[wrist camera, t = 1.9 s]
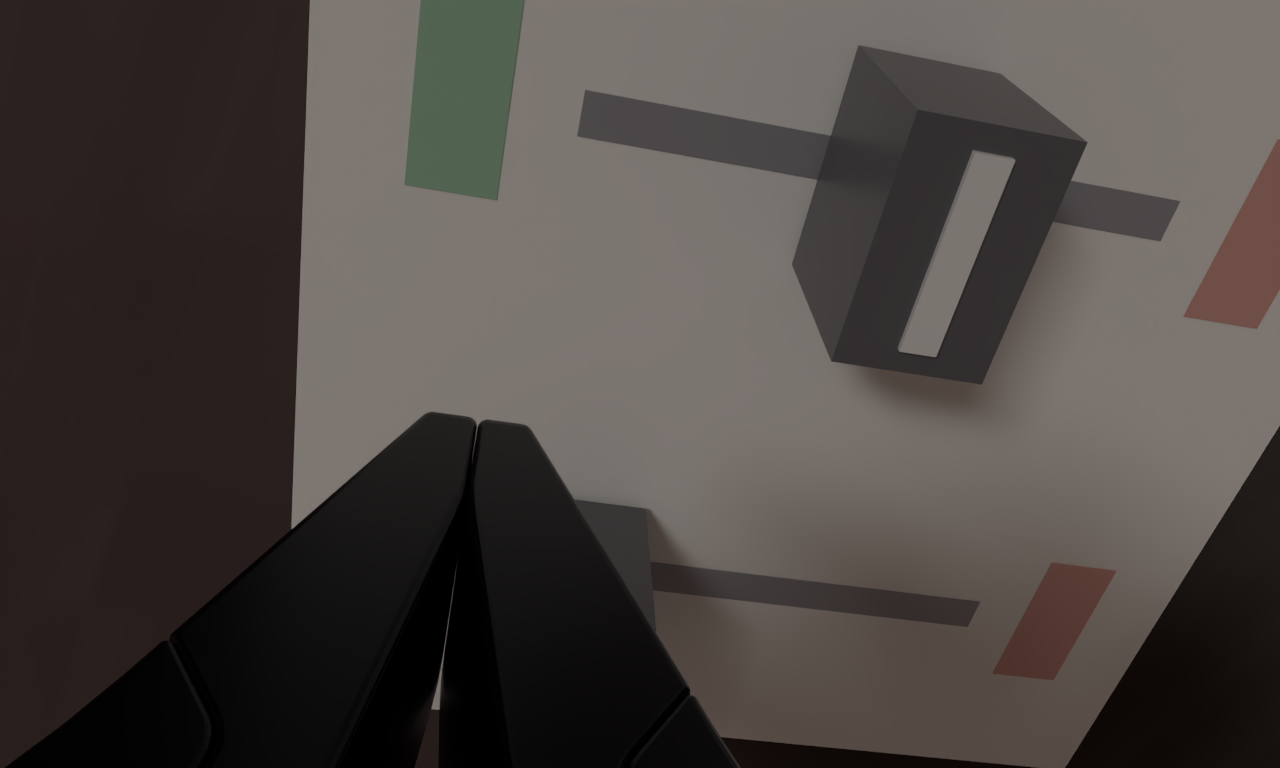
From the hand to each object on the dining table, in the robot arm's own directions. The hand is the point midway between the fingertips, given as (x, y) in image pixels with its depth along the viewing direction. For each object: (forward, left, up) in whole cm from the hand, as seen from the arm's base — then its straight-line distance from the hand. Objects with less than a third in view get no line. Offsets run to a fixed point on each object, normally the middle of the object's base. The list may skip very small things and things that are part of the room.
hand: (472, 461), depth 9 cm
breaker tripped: (-6, 0, -10) cm, 12 cm away
